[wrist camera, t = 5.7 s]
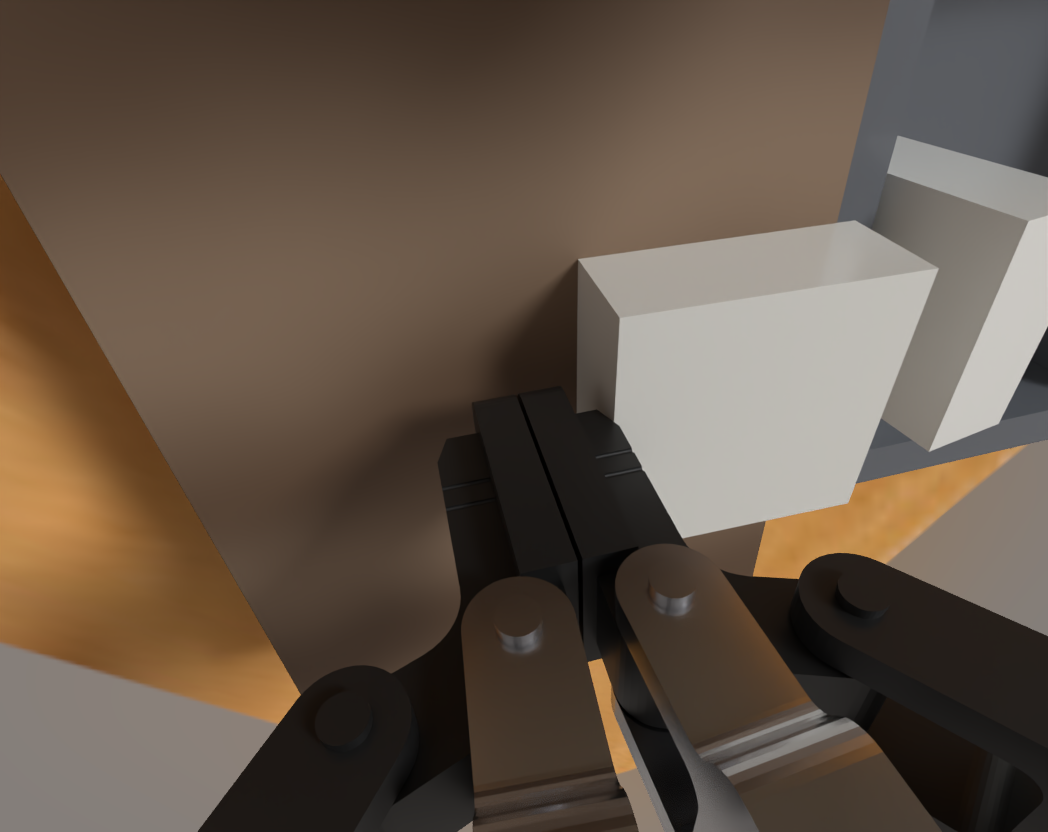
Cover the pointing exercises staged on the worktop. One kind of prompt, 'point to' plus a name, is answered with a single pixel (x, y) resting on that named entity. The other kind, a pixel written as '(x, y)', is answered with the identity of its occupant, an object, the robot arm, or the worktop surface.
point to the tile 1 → (749, 364)
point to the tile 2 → (965, 286)
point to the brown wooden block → (392, 240)
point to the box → (965, 127)
